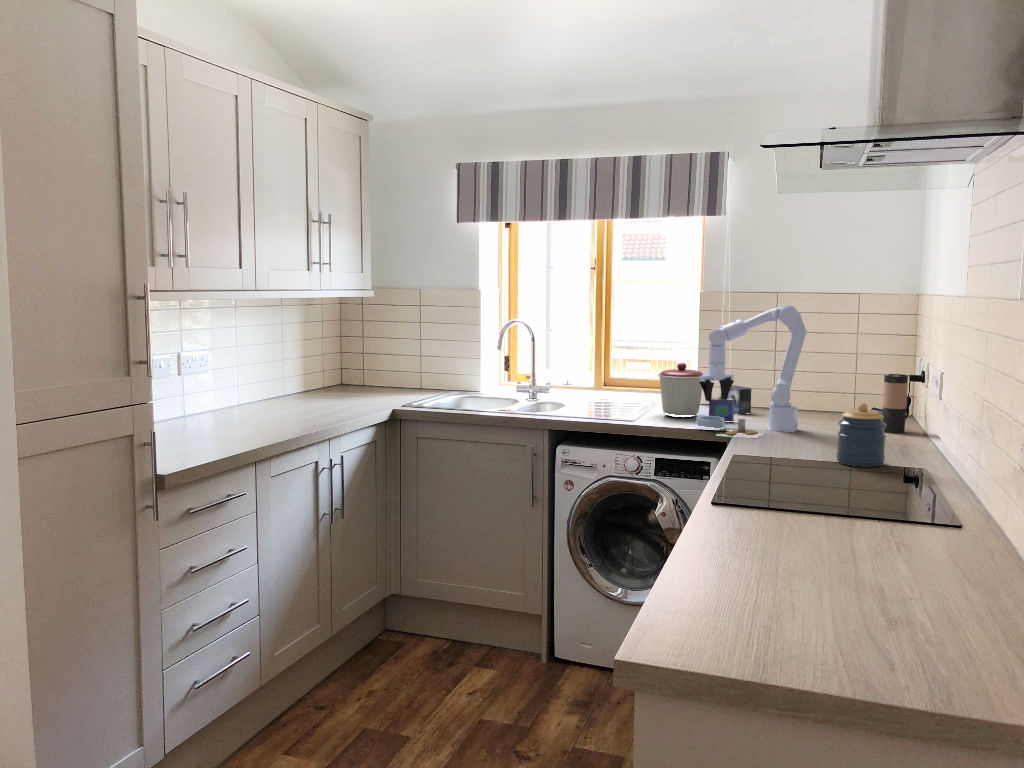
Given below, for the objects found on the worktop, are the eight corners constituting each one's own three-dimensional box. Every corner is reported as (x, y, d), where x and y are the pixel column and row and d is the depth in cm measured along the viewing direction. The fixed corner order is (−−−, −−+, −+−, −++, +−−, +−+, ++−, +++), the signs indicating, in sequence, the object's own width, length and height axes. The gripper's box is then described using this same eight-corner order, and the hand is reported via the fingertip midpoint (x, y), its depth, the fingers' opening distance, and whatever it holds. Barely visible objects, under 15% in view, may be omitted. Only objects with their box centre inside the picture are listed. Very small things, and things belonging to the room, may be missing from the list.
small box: (721, 411, 350) (721, 385, 348) (734, 410, 352) (734, 385, 351) (738, 415, 340) (739, 388, 339) (751, 414, 343) (752, 388, 341)
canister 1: (695, 421, 325) (697, 365, 322) (650, 417, 334) (651, 363, 331) (710, 415, 341) (711, 361, 338) (666, 411, 350) (667, 359, 347)
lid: (761, 433, 299) (762, 418, 298) (752, 438, 290) (753, 422, 289) (730, 430, 305) (730, 415, 304) (720, 435, 295) (721, 420, 295)
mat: (767, 433, 299) (767, 432, 299) (756, 440, 288) (756, 439, 288) (727, 430, 307) (727, 429, 307) (715, 436, 295) (715, 435, 295)
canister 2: (827, 462, 252) (830, 403, 250) (850, 456, 260) (853, 399, 258) (870, 470, 242) (873, 408, 240) (892, 463, 250) (896, 403, 248)
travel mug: (907, 434, 298) (910, 376, 296) (883, 433, 300) (886, 376, 297) (902, 430, 306) (905, 374, 303) (879, 429, 307) (882, 373, 305)
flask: (732, 421, 324) (733, 393, 323) (734, 423, 321) (735, 394, 320) (708, 421, 325) (708, 393, 323) (709, 423, 322) (710, 394, 320)
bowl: (727, 428, 310) (727, 417, 310) (719, 432, 302) (719, 420, 302) (701, 425, 315) (701, 415, 315) (692, 429, 307) (692, 418, 307)
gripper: (724, 360, 317) (723, 397, 318) (694, 362, 310) (693, 400, 311) (738, 362, 311) (737, 399, 312) (707, 364, 304) (707, 402, 305)
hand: (716, 400), depth 311 cm, fingers open, 7 cm apart
